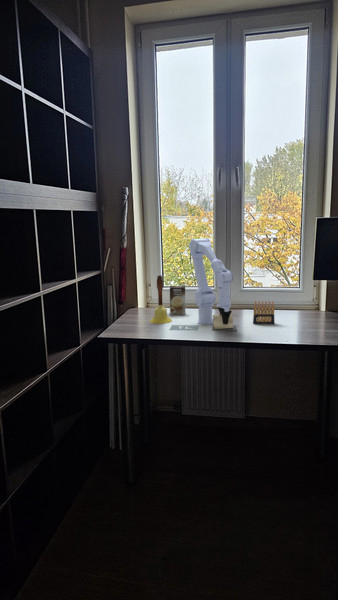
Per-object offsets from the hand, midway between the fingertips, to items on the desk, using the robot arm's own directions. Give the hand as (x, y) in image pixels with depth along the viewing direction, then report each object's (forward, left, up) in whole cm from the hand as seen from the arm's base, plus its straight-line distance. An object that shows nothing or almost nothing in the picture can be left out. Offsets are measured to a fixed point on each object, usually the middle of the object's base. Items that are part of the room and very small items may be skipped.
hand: (224, 322), depth 205 cm
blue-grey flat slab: (0, -20, -3) cm, 20 cm away
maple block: (0, -1, -2) cm, 2 cm away
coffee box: (-33, -27, -3) cm, 42 cm away
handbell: (-14, -34, -3) cm, 37 cm away
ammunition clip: (-11, +20, -3) cm, 23 cm away
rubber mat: (0, 0, -3) cm, 3 cm away
